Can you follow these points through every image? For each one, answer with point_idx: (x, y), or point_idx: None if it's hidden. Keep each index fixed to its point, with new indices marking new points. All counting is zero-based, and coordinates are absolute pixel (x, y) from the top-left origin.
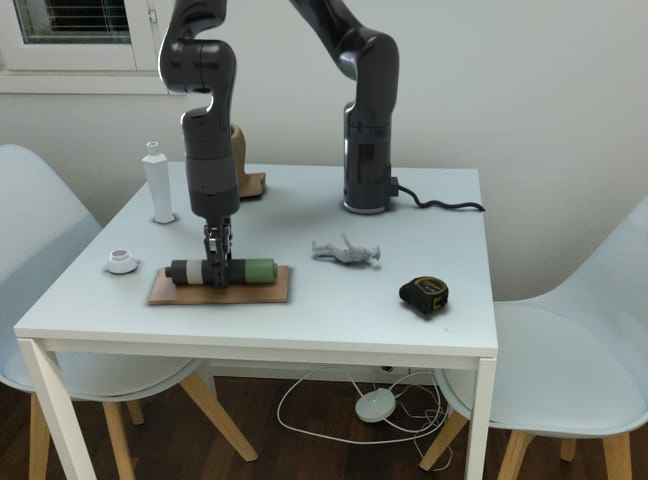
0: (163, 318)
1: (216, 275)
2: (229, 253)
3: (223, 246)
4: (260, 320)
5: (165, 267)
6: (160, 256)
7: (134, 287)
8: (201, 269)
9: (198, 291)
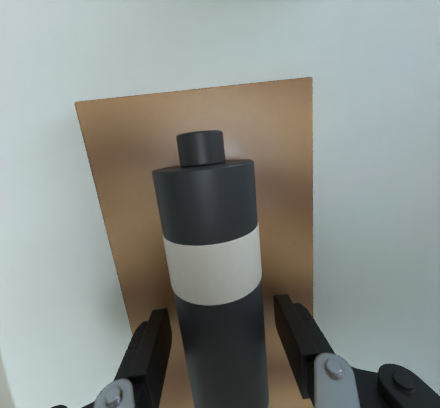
0: (20, 175)
1: (120, 370)
2: (295, 377)
3: (312, 392)
4: (76, 396)
5: (196, 132)
6: (420, 41)
7: (191, 6)
8: (179, 296)
9: (160, 248)
